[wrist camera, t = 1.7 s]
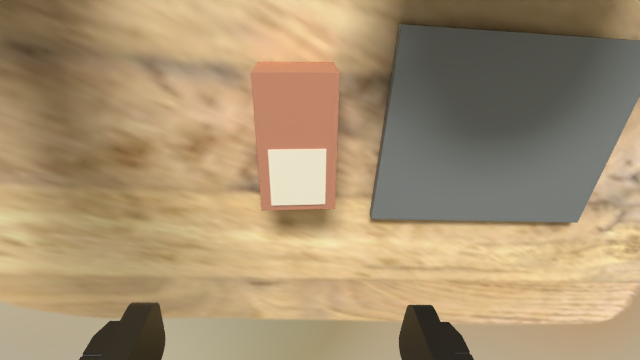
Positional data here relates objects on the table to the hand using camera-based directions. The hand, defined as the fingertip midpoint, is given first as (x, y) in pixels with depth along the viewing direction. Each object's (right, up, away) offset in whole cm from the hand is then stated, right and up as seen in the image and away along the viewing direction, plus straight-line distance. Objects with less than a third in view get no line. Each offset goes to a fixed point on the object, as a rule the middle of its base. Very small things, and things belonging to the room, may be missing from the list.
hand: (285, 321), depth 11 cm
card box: (-1, +9, +16) cm, 19 cm away
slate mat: (+16, +8, +18) cm, 25 cm away
